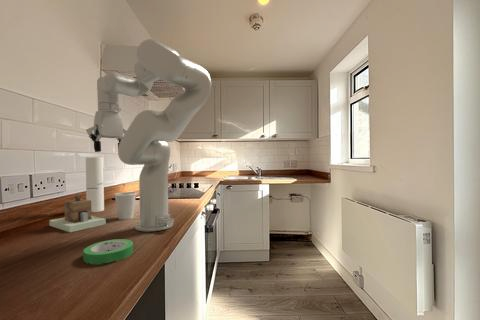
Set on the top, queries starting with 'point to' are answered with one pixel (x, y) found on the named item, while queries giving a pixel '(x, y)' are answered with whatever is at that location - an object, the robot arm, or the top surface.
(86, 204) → the walnut block
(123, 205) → the dixie cup
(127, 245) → the tape roll
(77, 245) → the top surface
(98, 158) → the cylindrical container
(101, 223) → the cleat board
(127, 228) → the top surface
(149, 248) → the top surface
